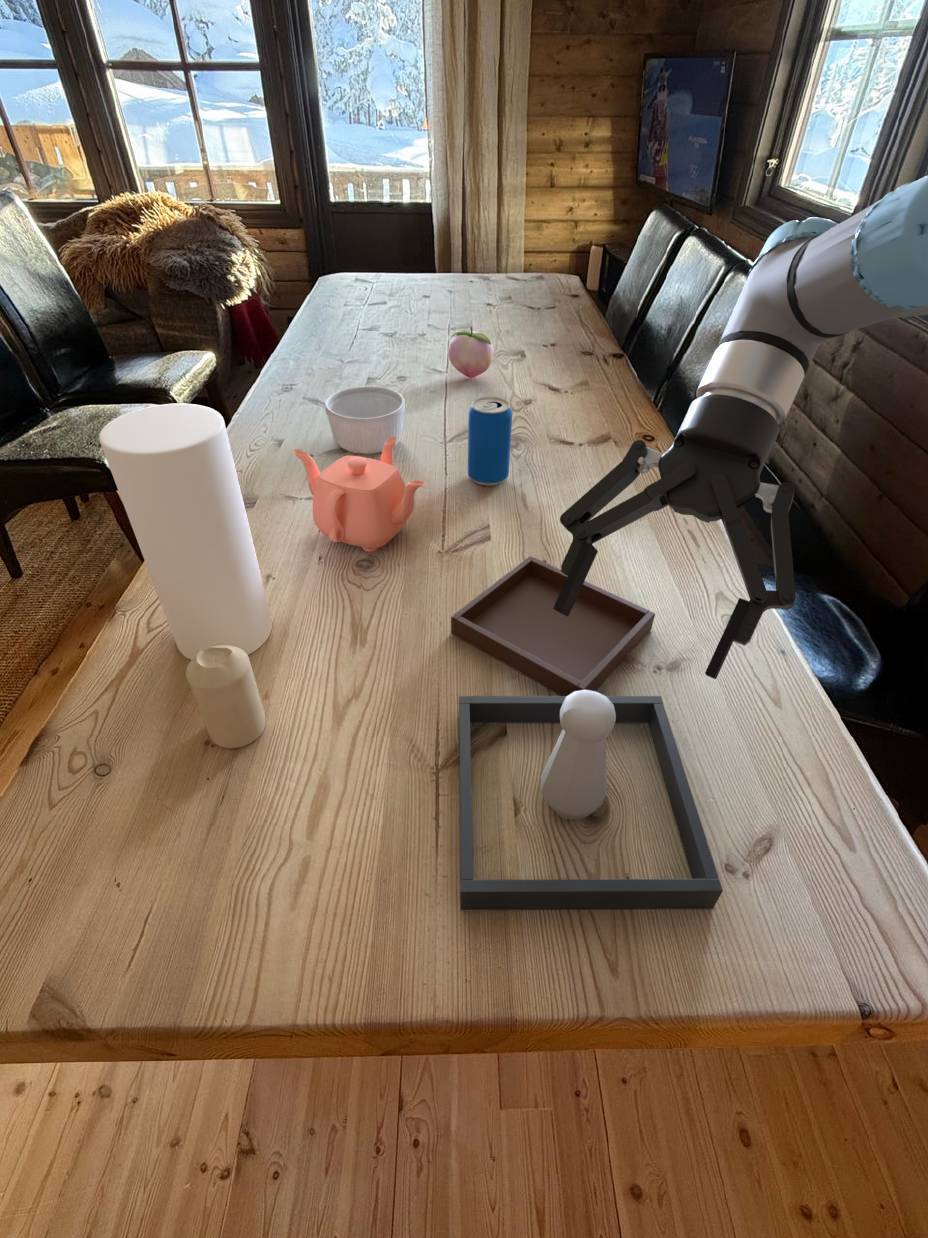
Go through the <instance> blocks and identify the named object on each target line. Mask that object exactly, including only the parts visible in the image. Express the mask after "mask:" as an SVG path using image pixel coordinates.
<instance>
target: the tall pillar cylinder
mask: <svg viewBox="0 0 928 1238" xmlns="http://www.w3.org/2000/svg"><path fill="white" fill-rule="evenodd" d="M98 438H99V443H100V446H101V449H102V451H103V453H104V457H105V459H106V461H107V465H108V467H109V469H110V473H111V475H112V477H113V480H114V483H115V485H116V488H117V490H118V493H119V496H120V499H121V501H122V502H121V503H122V505H123V507H124V510H125V512H126V515H127V518H128V520H129V523H130V526H131V528H132V530H133V533H134V537H135V538H136V540H137V544H138V546H139V549H140V552H141V555H142V557H143V559H144V562H145V565H146V568H147V571H148V573H149V576H150V578H151V582H152V585H153V587H154V589H155V591H156V594H157V597H158V600H159V602H160V605H161V607H162V610H163V613H164V616H165V618H166V621H167V624H168V626H169V629H170V632H171V635H172V637H173V639H174V642H175V645H176V648H177V649H178V651H179V653H180V654H181V655H182V656H183V657H185V658H186V659H187V660H190V661H191V660H192V659H193V658H194V657H195V656H196V655H197V654H198V652H199V651H202V650H204V649H206V648H210V647H213V646H219V645H228V646H234V647H237V648H240V649H242V650H243V651H244V652H245V653H246V654H247V655H248V656H250V655H251V654H252V653H254V652H256V651H257V650H258V649H259V648H261V647H262V646H263V645H264V644H265V643H266V642H267V640H268V639H269V638H270V635H271V633H272V630H273V620H272V617H271V612H270V607H269V603H268V599H267V595H266V591H265V587H264V582H263V578H262V573H261V570H260V565H259V562H258V556H257V552H256V549H255V545H254V540H253V536H252V532H251V531H252V530H251V527H250V523H249V519H248V515H247V512H246V506H245V502H244V498H243V494H242V491H241V486H240V482H239V477H238V473H237V469H236V465H235V461H234V456H233V453H232V447H231V443H230V440H229V435H228V431H227V426H226V423H225V419H224V417H223V416H222V414H221V413H220V412H219V411H217V410H215V409H214V408H211V407H208V406H205V405H201V404H194V403H165V404H164V403H163V404H158V405H152V406H146V407H141V408H138V409H134V410H132V411H129V412H126V413H123V414H121V415H119V416H117V417H115V418H113V419H112V420H111V421H109V422H108V423H106V425H105V426H104V427H103V428H102V429H101V430H100V432H99V437H98Z"/></svg>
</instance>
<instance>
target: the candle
mask: <svg viewBox="0 0 928 1238" xmlns="http://www.w3.org/2000/svg"><path fill="white" fill-rule="evenodd" d="M186 667H187V668H186V672H185V676H186V678H187V681H188V684H189V686H190V689H191V693H192V694H193V697H194V699H195V702H196V705H197V708H198V710H199V712H200V713H199V714H200V716H201V718H202V720H203V724H204V726H205V728H206V731H207V733H208V736H209V738H210V739H211V741H212V742H213V743H214V744H215V745H217V746H219V747H221V748H224V749H239V748H242V747H245V746H247V745H250V744H251V743H253V742H255V741H256V740H257V739H259V737H260V736H261V735H262V734H263V733H264V730H265V728H266V723H267V719H266V715H265V710H264V705H263V702H262V700H261V699H262V698H261V695H260V693H259V688H258V685H257V682H256V678H255V675H254V672H253V668H252V664H251V660H250V658H249V655H247V654H246V653H245V652H244V651H243V650H242V649H240V648H237V647H234V646H228V645H219V646H213V647H210V648H206V649H204V650H202V651H199V652H198V654H197V655H196V656H195V657H194V658H193V659H192V660H190V661H189V663H188V665H187V666H186Z"/></svg>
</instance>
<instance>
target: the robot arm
mask: <svg viewBox="0 0 928 1238" xmlns="http://www.w3.org/2000/svg"><path fill="white" fill-rule="evenodd" d="M741 289H742V290H741V292H740V293H739V296H738V298H737V301H736V304H735V306H734V308H733V309H732V312H731V314H730V317H729V319H728V321H727V324H726V326H725V329H724V330H723V333H722V335H721V338H720V340H719V342H718V345H717V347H716V349H715V350H714V353H713V355H712V357H711V359H710V362H709V363H708V366H707V368H706V370H705V371H704V374H703V376H702V379H701V381H700V382H699V385H698V387H697V389H696V394H695V396H696V398H695V399H693V400H692V402H691V403H690V404H689V406H688V410H687V412H686V414H685V415H684V418H683V421H682V423H681V425H680V427H679V429H678V432H677V433H676V436H675V438H674V440H673V443H672V445H671V446H670V447H669V449H668V450H667V451H665V452H664V453H662V452H660V451H658V450H656V449H652V448H650V447H648V446H647V445H646V441H644V440H642V439H637V440H635V441H633V443H632V444H631V446H629V449H628V450H627V452H626V453H625V456H624V457H623V459H622V460H621V461H620V462H619V463H617V465H616V466H615V467H614V468H612V469H611V470H610V471H609V472H607V474H606V475H605V476H603V477H602V478H601V479H600V480H599V481H598V482H597V483H595V484H594V485H593V486H592V487H591V488H590V489H589V490H588V491H587V492H585V493H584V494H583V495H582V496H581V497H580V498H579V499H577V501H575V502H574V503H573V504H572V505H570V507H569V508H567V509H566V510H565V511H564V512H563V513H562V514H561V515H560V516H559V522H560V524H561V525H562V526H563V527H564V528H565V529H566V530H567V532H569V533H570V534H571V535H572V541H571V542H570V545H569V547H568V549H567V552H566V554H565V557H564V559H563V560H562V563H561V566H560V570H561V572H563V573H564V574H565V575H567V576H568V577H567V579H566V581H565V583H564V585H563V588H562V590H561V592H560V594H559V596H558V599H557V601H556V603H555V605H554V607H553V609H554V610H556V611H557V612H559V613H561V614H563V615H565V616H569V614H570V612H571V610H572V607H573V605H574V603H575V601H576V599H577V596H578V594H579V592H580V590H581V588H582V585H583V583H584V581H586V579H587V576H588V574H589V572H590V570H591V567H593V566H592V565H593V563H594V561H595V559H596V557H597V554H598V552H599V551H598V550H597V548H596V547H595V546H594V544H595V543H596V542H598V541H600V540H602V539H604V538H606V537H608V536H610V535H612V534H614V533H615V532H617V531H619V530H621V529H623V528H625V527H627V526H628V525H630V524H633V523H634V522H636V521H638V520H639V519H641V518H643V517H645V516H647V515H649V514H651V513H654V512H658V511H660V510H662V509H664V508H665V507H670V509H672V510H673V512H674V513H676V514H680V515H683V516H693V517H694V518H696V519H698V520H699V521H701V522H705V523H707V524H710V522H717V521H720V520H721V523H722V525H723V528H724V530H725V534H726V536H727V539H728V542H729V544H730V546H731V550H732V553H733V555H734V558H735V561H736V564H737V567H738V569H739V572H740V575H741V577H742V580H743V583H744V586H745V589H746V592H747V595H748V597H749V600H747V599H744V598H741V597H739V598H738V600H737V602H736V604H735V607H734V609H733V611H732V613H731V615H730V617H729V619H728V621H727V624H726V626H725V628H724V630H723V633H722V634H721V637H720V640H719V641H718V644H717V646H716V648H715V650H714V652H713V655H712V657H711V659H710V661H709V663H708V665H707V667H706V670H705V672H704V674H705V675H706V677H709V678H711V679H714V680H717V678H718V677H719V674H720V672H721V669H722V667H723V666H724V663H725V661H726V659H727V656H728V654H729V652H730V649H731V648H732V645H733V643H736V644H739V645H742V646H744V647H745V646H746V645H748V644H749V643H750V642H751V639H752V637H753V636H754V633H755V631H756V629H757V627H758V625H759V622H760V620H761V618H762V616H763V614H764V613H765V612H766V611H768V610H773V609H774V610H782V611H789V610H791V609H792V608H793V607H794V605H795V602H796V600H797V599H796V598H797V594H796V584H795V582H796V581H795V572H794V561H793V560H794V559H793V551H792V550H793V548H792V539H791V538H792V537H791V527H790V515H789V513H790V510H791V507H792V504H793V500H794V497H795V492H796V491H795V490H796V487H795V484H794V483H793V482H790V481H784V482H781V484H773V483H767V482H762V481H761V479H760V478H761V473H762V471H763V469H764V467H765V465H766V462H767V460H768V458H769V456H770V453H771V451H772V448H773V447H774V446H775V442H776V440H777V438H778V436H779V434H780V426H779V425H781V424H783V423H784V422H785V421H786V419H787V416H788V413H789V412H790V409H791V407H792V405H793V403H794V400H795V399H796V397H797V394H798V392H799V389H800V387H801V385H802V383H803V381H804V379H805V376H806V374H807V372H808V370H809V368H810V366H811V363H812V361H813V359H814V357H815V356H816V353H817V351H818V349H819V347H820V345H821V344H822V343H823V342H825V341H827V340H830V339H833V338H838V337H840V336H844V335H846V334H848V333H851V332H853V331H856V330H859V329H863V328H865V327H869V326H871V325H874V324H878V323H880V322H881V323H882V322H884V321H888V320H893V319H899V318H906V317H919V316H928V175H926V176H923V177H921V178H919V179H918V180H912V181H910V182H906V183H904V184H902V185H900V186H899V187H897V188H896V189H895V190H894V191H893V190H892V191H890V192H887V194H885V195H884V196H883V197H882V198H881V199H880V200H877V201H876V202H874V203H873V204H871V205H869V206H868V207H866V208H864V209H862V210H861V211H859V212H857V213H856V214H854V215H852V216H850V217H849V218H847V219H845V220H843V221H841V222H840V223H838V222H835V221H833V220H831V219H827V218H824V217H807V218H806V219H805V220H802V221H799V220H797V219H796V220H795V219H793V220H790V221H788V222H785V223H783V224H782V225H780V226H779V227H777V228H776V229H775V230H774V231H773V232H772V233H771V234H770V235H769V236H768V237H767V240H766V241H765V243H764V245H763V247H762V249H761V250H760V253H759V254H758V257H756V259H755V260H754V262H753V263H752V265H751V268H750V269H749V271H748V273H747V276H746V278H745V283H744V284H743V287H742V288H741ZM653 468H657V469H658V472H659V477H660V478H659V479H658V480H656V481H654V482H653V483H651V484H649V485H647V486H646V487H645V488H644V489H643V490H642V491H640V492H639V493H636V494H635V495H633V496H632V497H629V498H628V499H625V500H624V501H622V502H621V503H619V504H616V505H615V506H613V507H611V508H609V509H607V510H605V511H604V512H602V513H600V511H602V510H603V509H604V508H605V507H607V505H608V504H609V503H611V502H612V501H613V500H614V499H615V498H617V496H619V495H620V494H621V493H622V492H623V491H625V490H626V489H627V488H628V487H629V486H630V485H632V483H634V482H635V481H636V480H637V478H638V477H639V476H640V475H641V474H646V473H648V472H649V471H650V470H651V469H653ZM756 498H759V499H760V500H761V501H762V508H763V510H764V511H765V512H766V513H769V514H771V516H770V534H771V546H772V555H773V556H772V557H773V568H774V569H773V570H774V581H775V590H773V589H771V590H769V589H767V587H766V584H765V581H764V578H763V576H762V573H761V571H760V568H759V565H758V563H757V561H756V557H755V554H754V552H753V549H752V546H751V542H750V541H749V538H748V535H747V532H746V529H745V527H744V523H743V521H742V517H741V514H740V511H739V509H740V508H742V507H744V506H745V505H747V504H749V503H750V502H752V501H754V500H755V499H756ZM599 513H600V514H599ZM597 514H598V515H597ZM596 515H597V516H596Z"/></svg>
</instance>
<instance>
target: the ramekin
mask: <svg viewBox="0 0 928 1238" xmlns="http://www.w3.org/2000/svg"><path fill="white" fill-rule="evenodd" d="M405 410H406V404H405V398H404V397H403V395H402V394H400V393H399V392H397V391H396V390H394V389H391V388H388V387H382V386H375V385H362V386H361V385H360V386H353V387H348V388H344V389H340V390H338V391H336V392H334V393H332V394H330V395H329V396H328V397H327V398H326V399H325V401H324V411H325V414H326V415H327V418H328V422H329V426H330V430H331V434H332V437H333V439H334V442H335V443H336V444H337V445H338V446H339V447H340V448H341V449H343V450H345V451H346V452H350V453H352V454H353V453H354V454H361V455H372V454H378V453H382V451H383V448H384V445H385V443H386V442H387V440H388V439H390V438H391V437H396V443H395V446H397V444H398V442H400V440H401V438H402V435H403V428H404V427H403V426H404V413H405Z"/></svg>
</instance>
